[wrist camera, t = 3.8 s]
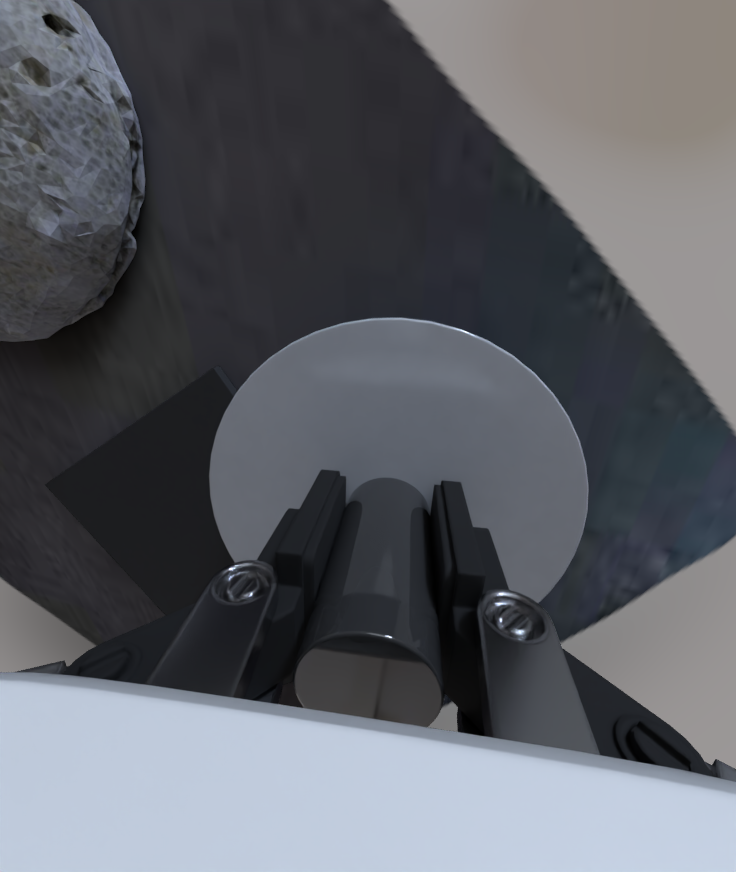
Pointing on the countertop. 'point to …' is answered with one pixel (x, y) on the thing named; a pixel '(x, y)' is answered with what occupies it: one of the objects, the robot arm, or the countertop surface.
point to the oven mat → (157, 495)
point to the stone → (62, 168)
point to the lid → (396, 492)
